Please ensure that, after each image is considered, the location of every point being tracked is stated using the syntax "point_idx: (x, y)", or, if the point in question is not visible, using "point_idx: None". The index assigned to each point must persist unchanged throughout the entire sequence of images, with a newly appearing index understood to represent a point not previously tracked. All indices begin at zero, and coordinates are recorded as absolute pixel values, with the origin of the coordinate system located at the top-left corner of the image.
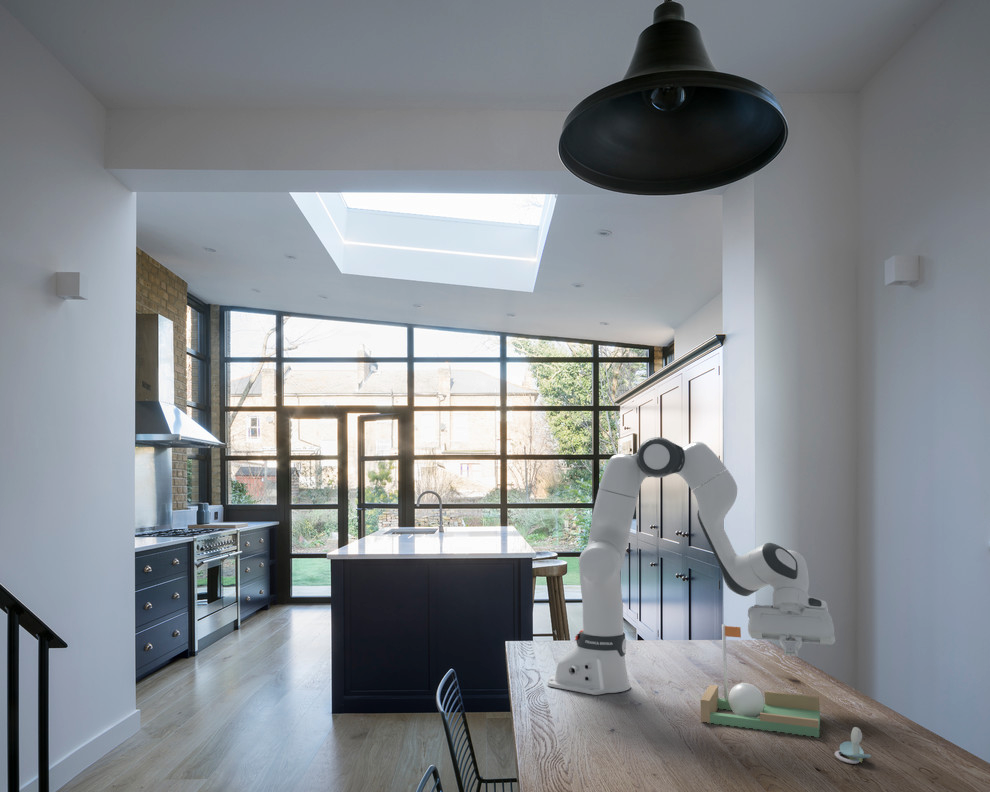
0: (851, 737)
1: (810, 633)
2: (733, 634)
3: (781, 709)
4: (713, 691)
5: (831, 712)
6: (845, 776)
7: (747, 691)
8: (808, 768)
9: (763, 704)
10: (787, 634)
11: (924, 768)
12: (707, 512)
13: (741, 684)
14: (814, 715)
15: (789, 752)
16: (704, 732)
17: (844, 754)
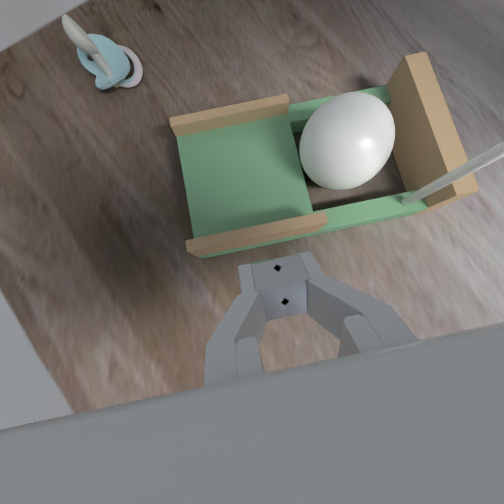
0: (93, 45)
1: (74, 433)
2: None
3: (272, 206)
4: (436, 133)
5: (190, 325)
6: (118, 4)
7: (341, 95)
8: (169, 3)
9: (300, 146)
10: (344, 358)
11: (16, 96)
12: None
13: (372, 103)
14: (198, 205)
15: (208, 45)
16: (361, 52)
17: (120, 49)
